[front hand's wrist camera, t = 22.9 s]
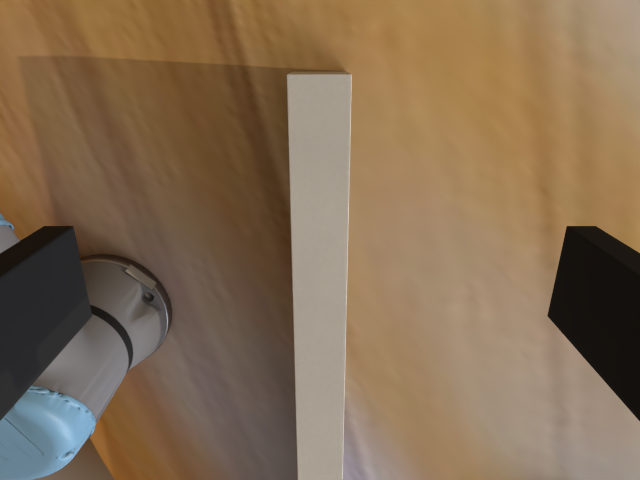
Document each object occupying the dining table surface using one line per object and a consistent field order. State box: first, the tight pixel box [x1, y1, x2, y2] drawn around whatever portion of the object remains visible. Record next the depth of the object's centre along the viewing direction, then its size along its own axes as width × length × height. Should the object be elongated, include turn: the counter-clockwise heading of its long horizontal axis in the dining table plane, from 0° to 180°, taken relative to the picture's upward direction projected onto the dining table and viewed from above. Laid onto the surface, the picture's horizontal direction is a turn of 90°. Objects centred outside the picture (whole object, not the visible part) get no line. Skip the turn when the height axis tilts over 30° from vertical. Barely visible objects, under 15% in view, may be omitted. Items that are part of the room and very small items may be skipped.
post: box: [287, 71, 352, 480], centre depth 60 cm, size 82×6×8 cm, turn 0°
